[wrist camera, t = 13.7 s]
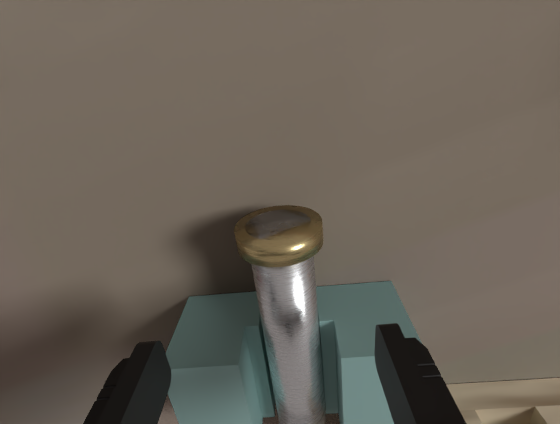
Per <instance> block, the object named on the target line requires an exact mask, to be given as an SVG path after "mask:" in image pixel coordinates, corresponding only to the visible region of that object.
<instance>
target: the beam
mask: <svg viewBox="0 0 560 424" xmlns="http://www.w3.org/2000/svg"><path fill="white" fill-rule="evenodd" d="M446 386H447V387H448V389H449V391H450V393H451V395H452V397H453V399H454V401H455V403H456V405H457V407H458V408H459V410H460V412H461V414H462V416H463V418H464V420H465V422H466V423H467V424H560V378H546V379H529V380H512V381H495V382H478V383H461V384H446Z"/></svg>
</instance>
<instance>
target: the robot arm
mask: <svg viewBox="0 0 560 424" xmlns="http://www.w3.org/2000/svg"><path fill="white" fill-rule="evenodd" d="M374 355H375V364H376V369H377V372H378V376H379V379H380V382H381V385H382V388H383V391H384V394H385V397H386V400H387V403H388V407H389V410H390V413H391V416H392V419H393V422H394V424H467V423H466V422H465V420H464V418H463V416H462V414H461V412H460V410H459V408H458V407H457V405H456V403H455V401H454V399H453V397H452V395H451V393H450V391H449V389H448V387H447V386H446V384H445V382H444V380H443V378H442V377H441V374H440V372H439V370H438V368H437V366H435V363H434V361H433V359H432V357H431V355H430V353H429V351H428V349H427V348H426V347H425V346H424V345H423V344H422V343H421V342H420V341H418V340H417V339H416V338H415V337H414V338H405V337H404V335H403V333H402V331H401V328H400V326H399V325H398V324H397V323H392V324H379V325H376V328H375V352H374ZM170 383H171V368H170V365H169V362H168V359H167V357H166V354H165V351H164V348H163V345H162V343H161V342H160V341H151V342H139V343H138V344H137V345H136V346H135V348H134V350H133V352H132V354H131V356H130V358H127V359H123V360H122V361H121V362H120V363H119V364H118V365H117V366H116V367H115V368H114V369H113V370H112V371H111V373H110V375H109V376H108V378H107V380H106V382H105V384H104V386H103V389H101V391H100V393H99V395H98V397H97V401H95V402H94V404H93V406H92V408H91V410H90V412H89V414H88V415H87V417H86V419H85V421H84V423H83V424H157V423H158V420H159V417H160V414H161V411H162V408H163V405H164V402H165V399H166V396H167V393H168V390H169V387H170Z"/></svg>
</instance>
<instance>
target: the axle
mask: <svg viewBox="0 0 560 424" xmlns="http://www.w3.org/2000/svg"><path fill="white" fill-rule="evenodd" d="M234 233H235V238H236V243H237V248H238V253H239V255H240V256H241V258H242V259H244V260H245V261H247V262H248V263H251V265H252V271H253V276H254V282H255V288H256V294H257V299H258V305H259V311H260V316H261V322H262V328H263V334H264V339H265V345H266V351H267V356H268V362H269V368H270V374H271V379H272V385H273V391H274V397H275V402H276V408H277V414H278V419H279V424H326V413H325V400H324V387H323V374H322V361H321V347H320V334H319V321H318V308H317V295H316V282H315V269H314V255H315V254H316V253H318V251H319V250H320V249H321V247H322V245H323V228H322V218H321V216H320V215H319V214H318V213H317V212H315V211H313V210H311V209H309V208H305V207H301V206H291V205H284V206H273V207H268V208H264V209H260V210H257V211H254V212H252V213H250V214H248V215H246V216H244V217H243V218H242V219H240V220H239V221H238V222H237V224H236V225H235V228H234Z"/></svg>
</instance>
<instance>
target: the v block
mask: <svg viewBox="0 0 560 424" xmlns="http://www.w3.org/2000/svg"><path fill="white" fill-rule="evenodd" d="M316 295H317V308H318V321H319V334H320V347H321V361H322V374H323V387H324V400H325V409H326V414H333V413H338V414H339V421H340V424H394V422H393V419H392V416H391V413H390V410H389V407H388V403H387V400H386V397H385V394H384V391H383V388H382V385H381V382H380V379H379V376H378V372H377V369H376V364H375V355H374V352H375V328H376V325H379V324H392V323H397V324H398V325H399V326H400V328H401V331H402V333H403V335H404V337H405V338H414V337H415V338H416V339H417V340H418V341H420V339H419V337H418V335H417V333H416V330H415V328H414V326H413V324H412V322H411V320H410V318H409V316H408V314H407V312H406V310H405V308H404V306H403V304H402V302H401V300H400V298H399V296H398V294H397V292H396V290H395V288H394V286H393V284H392V282H391V281H383V282H370V283H358V284H345V285H332V286H319V287H316ZM420 342H421V341H420ZM165 354H166V357H167V359H168V362H169V365H170V368H171V383H170V387H169V390H168V396H169V399H170V401H171V404H172V407H173V409H174V412H175V414H176V417H177V420H178V422H179V424H262V421H263V417H275V397H274V391H273V385H272V379H271V374H270V368H269V362H268V356H267V351H266V345H265V339H264V334H263V328H262V322H261V316H260V311H259V305H258V299H257V294H256V291H255V292H242V293H229V294H216V295H203V296H190V297H189V298H188V300H187V303H186V305H185V307H184V310H183V312H182V315H181V317H180V319H179V322H178V324H177V327H176V329H175V332H174V334H173V336H172V339H171V341H170V344H169V346H168V348H167V351H166V353H165Z"/></svg>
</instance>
